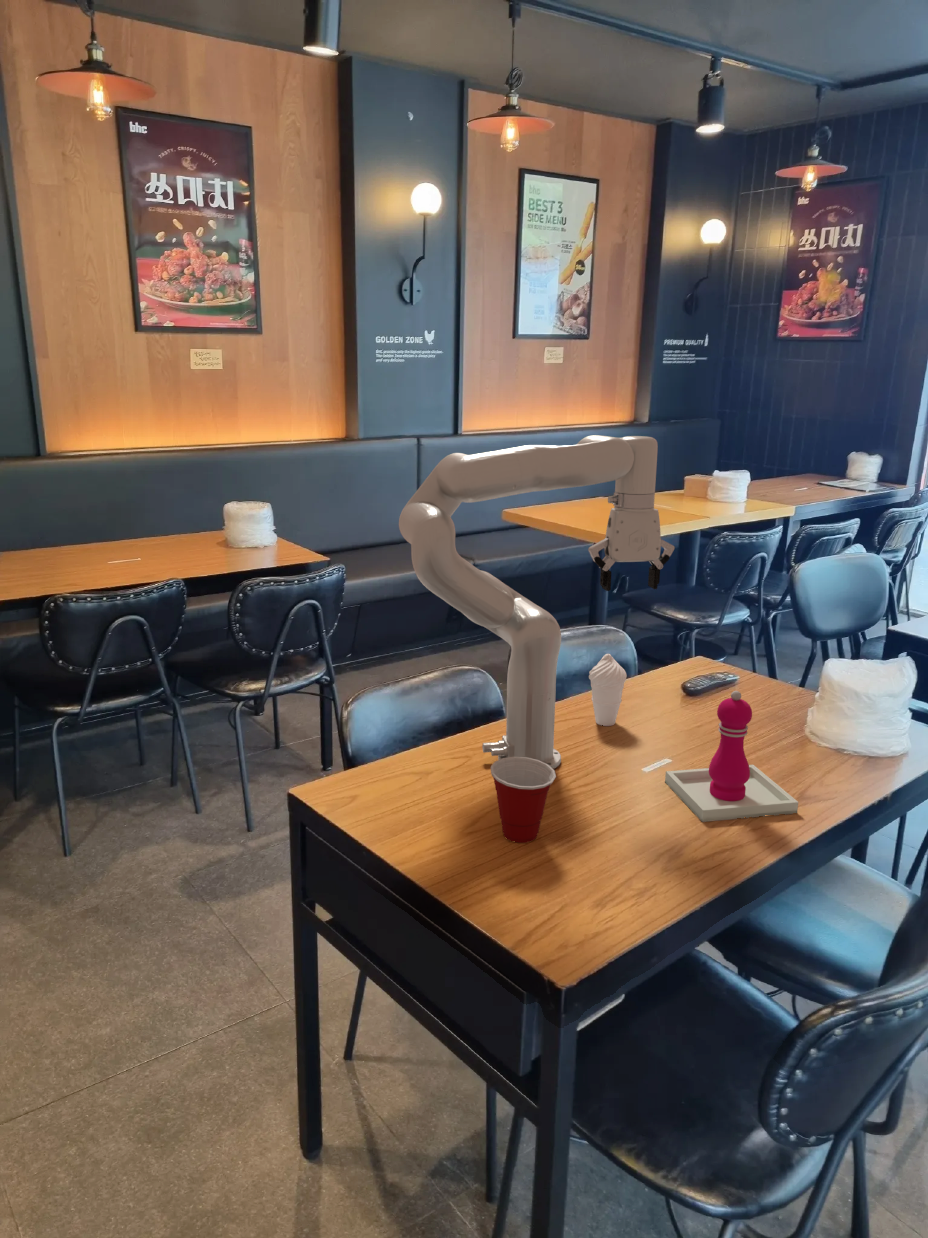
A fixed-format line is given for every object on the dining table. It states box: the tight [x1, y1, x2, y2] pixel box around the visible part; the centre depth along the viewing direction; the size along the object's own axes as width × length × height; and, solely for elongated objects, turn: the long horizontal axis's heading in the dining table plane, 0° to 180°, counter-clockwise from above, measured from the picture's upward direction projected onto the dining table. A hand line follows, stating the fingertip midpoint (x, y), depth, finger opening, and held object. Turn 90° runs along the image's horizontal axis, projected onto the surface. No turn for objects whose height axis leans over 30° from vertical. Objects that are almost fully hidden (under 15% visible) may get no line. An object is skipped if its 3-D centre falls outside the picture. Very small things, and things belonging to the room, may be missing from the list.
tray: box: [664, 764, 799, 823], centre depth 160 cm, size 18×16×2 cm
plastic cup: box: [490, 757, 557, 844], centre depth 145 cm, size 11×11×12 cm
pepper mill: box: [708, 690, 753, 801], centre depth 158 cm, size 7×7×20 cm
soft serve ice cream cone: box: [588, 653, 627, 727], centre depth 194 cm, size 8×8×16 cm
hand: (629, 588), depth 172 cm, fingers open, 9 cm apart
